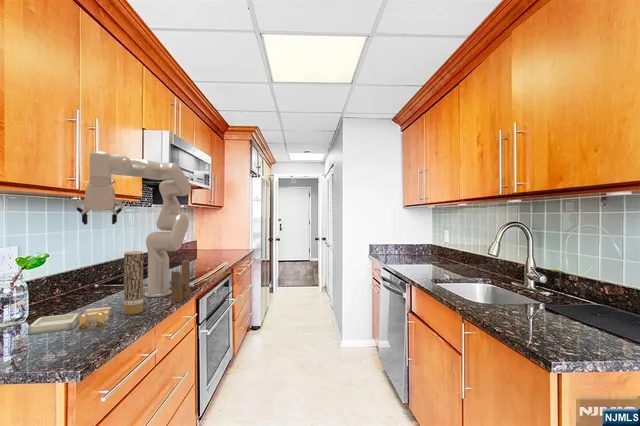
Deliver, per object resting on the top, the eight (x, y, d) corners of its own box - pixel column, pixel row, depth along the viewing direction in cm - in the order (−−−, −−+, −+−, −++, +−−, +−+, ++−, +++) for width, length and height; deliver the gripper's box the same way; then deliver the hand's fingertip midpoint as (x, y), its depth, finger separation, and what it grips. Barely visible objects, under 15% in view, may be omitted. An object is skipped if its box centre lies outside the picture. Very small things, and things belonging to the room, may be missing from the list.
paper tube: (125, 311, 136) (125, 251, 136) (143, 309, 139) (144, 250, 139) (122, 316, 130) (122, 253, 130) (141, 314, 132) (141, 252, 133)
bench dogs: (78, 328, 116) (78, 314, 116) (105, 325, 119) (105, 311, 119) (75, 332, 112) (75, 318, 112) (103, 329, 115) (103, 314, 115)
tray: (39, 324, 120) (39, 317, 120) (79, 319, 126) (79, 313, 126) (27, 334, 110) (27, 327, 110) (71, 329, 115) (71, 322, 115)
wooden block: (171, 302, 151) (171, 263, 151) (184, 296, 162) (184, 259, 162) (178, 302, 151) (179, 263, 151) (191, 296, 161) (191, 260, 161)
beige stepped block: (87, 317, 129) (87, 309, 129) (111, 315, 132) (111, 306, 132) (82, 325, 121) (82, 315, 121) (107, 322, 124) (107, 312, 124)
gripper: (126, 184, 140) (125, 224, 140) (76, 182, 133) (76, 224, 133) (123, 182, 134) (123, 224, 133) (71, 180, 126) (71, 224, 126)
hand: (99, 224), depth 133 cm, fingers open, 9 cm apart
